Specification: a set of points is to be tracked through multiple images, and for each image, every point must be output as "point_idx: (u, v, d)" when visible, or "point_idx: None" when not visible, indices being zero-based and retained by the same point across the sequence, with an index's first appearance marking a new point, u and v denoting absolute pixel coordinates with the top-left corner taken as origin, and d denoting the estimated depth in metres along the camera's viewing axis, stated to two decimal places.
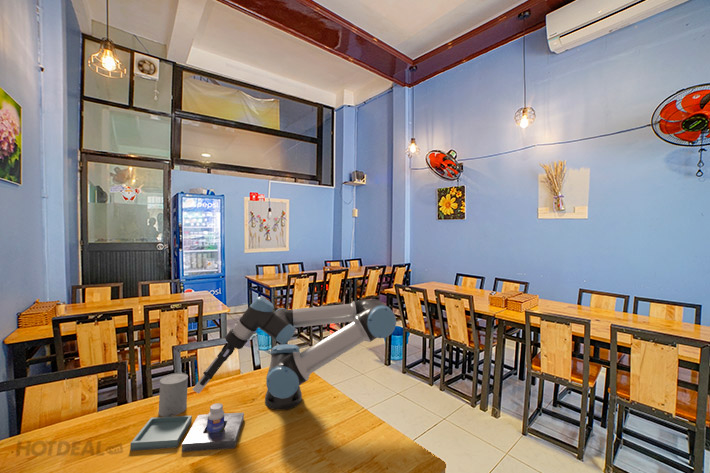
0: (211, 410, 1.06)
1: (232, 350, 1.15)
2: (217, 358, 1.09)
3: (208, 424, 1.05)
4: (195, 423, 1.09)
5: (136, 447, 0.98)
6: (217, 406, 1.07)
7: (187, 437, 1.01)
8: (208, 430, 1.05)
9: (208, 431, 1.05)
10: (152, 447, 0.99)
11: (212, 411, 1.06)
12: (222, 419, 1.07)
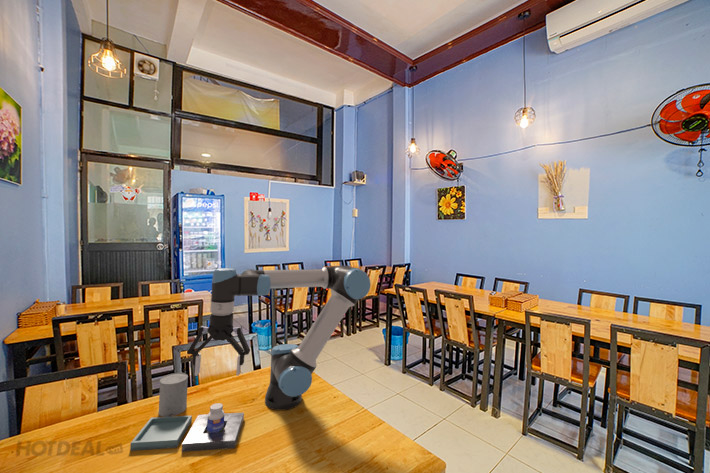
0: (211, 410, 1.06)
1: None
2: (233, 341, 1.07)
3: (208, 424, 1.05)
4: (195, 423, 1.09)
5: (136, 447, 0.98)
6: (217, 406, 1.07)
7: (187, 437, 1.01)
8: (208, 430, 1.05)
9: (208, 431, 1.05)
10: (152, 447, 0.99)
11: (212, 411, 1.06)
12: (222, 419, 1.07)
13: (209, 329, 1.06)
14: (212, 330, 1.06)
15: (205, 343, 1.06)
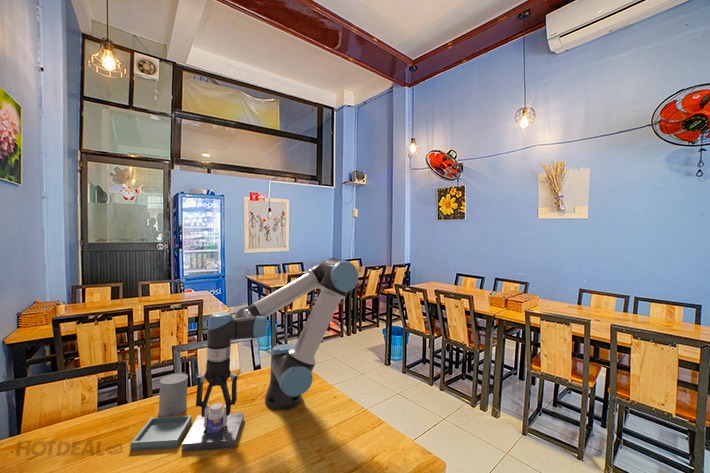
0: (211, 410, 1.06)
1: None
2: (225, 389, 1.07)
3: (208, 424, 1.05)
4: (195, 423, 1.09)
5: (136, 447, 0.98)
6: (217, 406, 1.07)
7: (187, 437, 1.01)
8: (208, 430, 1.05)
9: (208, 431, 1.05)
10: (152, 447, 0.99)
11: (212, 411, 1.06)
12: (222, 419, 1.07)
13: (206, 376, 1.06)
14: (209, 375, 1.06)
15: (208, 392, 1.06)
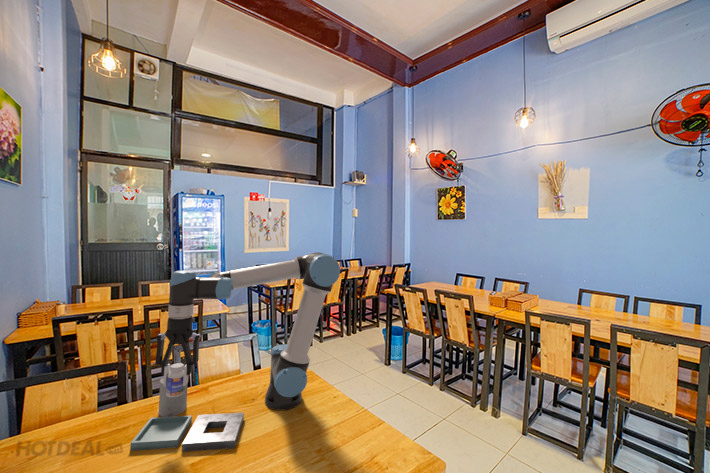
0: (171, 368, 1.04)
1: None
2: (186, 348, 1.05)
3: (167, 383, 1.03)
4: (195, 423, 1.09)
5: (136, 447, 0.98)
6: (178, 365, 1.05)
7: (187, 437, 1.01)
8: (167, 389, 1.03)
9: (167, 390, 1.03)
10: (152, 447, 0.99)
11: (172, 369, 1.04)
12: (182, 378, 1.05)
13: (166, 333, 1.04)
14: (170, 333, 1.04)
15: (168, 350, 1.04)
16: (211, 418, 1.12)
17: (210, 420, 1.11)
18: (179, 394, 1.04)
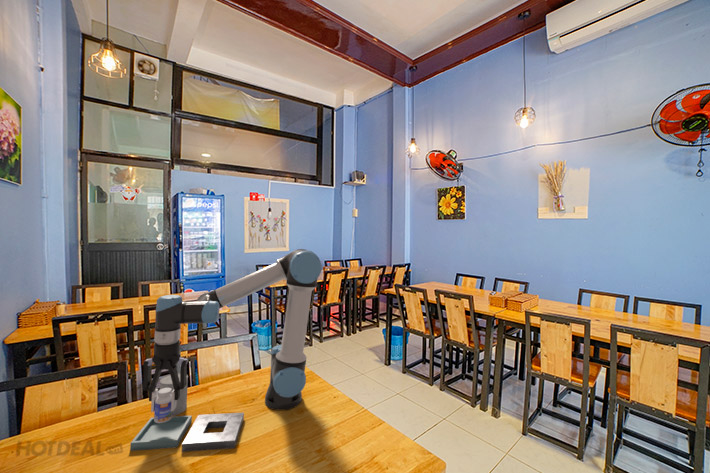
0: (158, 394, 1.04)
1: None
2: (174, 373, 1.05)
3: (155, 408, 1.03)
4: (195, 423, 1.09)
5: (136, 447, 0.98)
6: (166, 390, 1.05)
7: (187, 437, 1.01)
8: (155, 414, 1.03)
9: (155, 415, 1.03)
10: (152, 447, 0.99)
11: (159, 395, 1.04)
12: (170, 403, 1.05)
13: (153, 359, 1.04)
14: (157, 359, 1.04)
15: (155, 376, 1.04)
16: (211, 418, 1.12)
17: (210, 420, 1.11)
18: (167, 419, 1.04)
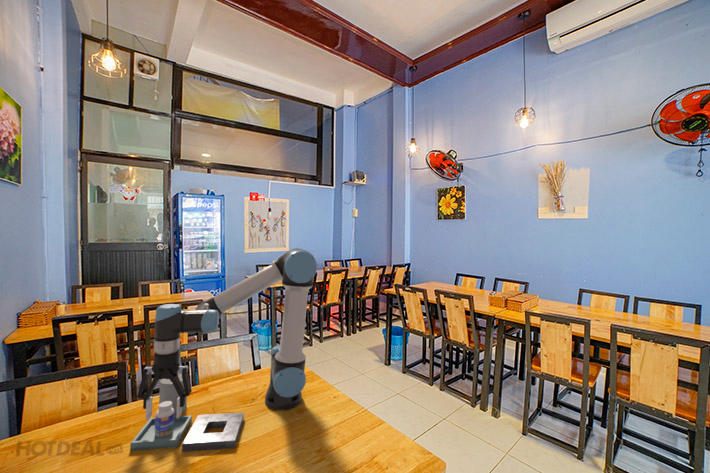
0: (159, 408, 1.04)
1: None
2: (176, 381, 1.05)
3: (156, 422, 1.03)
4: (195, 423, 1.09)
5: (136, 447, 0.98)
6: (166, 404, 1.05)
7: (187, 437, 1.01)
8: (156, 428, 1.03)
9: (156, 429, 1.03)
10: (152, 447, 0.99)
11: (160, 409, 1.04)
12: (171, 417, 1.05)
13: (153, 368, 1.04)
14: (156, 368, 1.04)
15: (152, 384, 1.04)
16: (211, 418, 1.12)
17: (210, 420, 1.11)
18: (168, 433, 1.04)
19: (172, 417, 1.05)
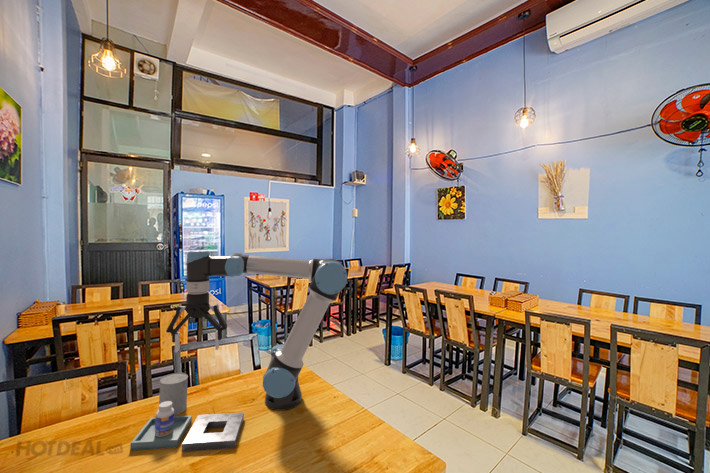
0: (159, 408, 1.04)
1: None
2: (210, 318, 1.14)
3: (156, 422, 1.03)
4: (195, 423, 1.09)
5: (136, 447, 0.98)
6: (166, 404, 1.05)
7: (187, 437, 1.01)
8: (156, 428, 1.03)
9: (156, 429, 1.03)
10: (152, 447, 0.99)
11: (160, 409, 1.04)
12: (171, 417, 1.05)
13: (186, 308, 1.13)
14: (189, 309, 1.13)
15: (183, 321, 1.12)
16: (211, 418, 1.12)
17: (210, 420, 1.11)
18: (168, 433, 1.04)
19: (172, 417, 1.05)
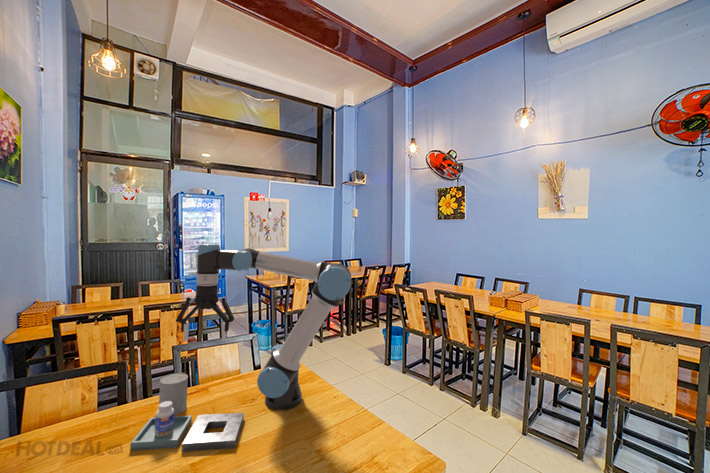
0: (159, 408, 1.04)
1: None
2: (218, 309, 1.17)
3: (156, 422, 1.03)
4: (195, 423, 1.09)
5: (136, 447, 0.98)
6: (166, 404, 1.05)
7: (187, 437, 1.01)
8: (156, 428, 1.03)
9: (156, 429, 1.03)
10: (152, 447, 0.99)
11: (160, 409, 1.04)
12: (171, 417, 1.05)
13: (196, 299, 1.16)
14: (198, 300, 1.16)
15: (192, 312, 1.16)
16: (211, 418, 1.12)
17: (210, 420, 1.11)
18: (168, 433, 1.04)
19: (172, 417, 1.05)
